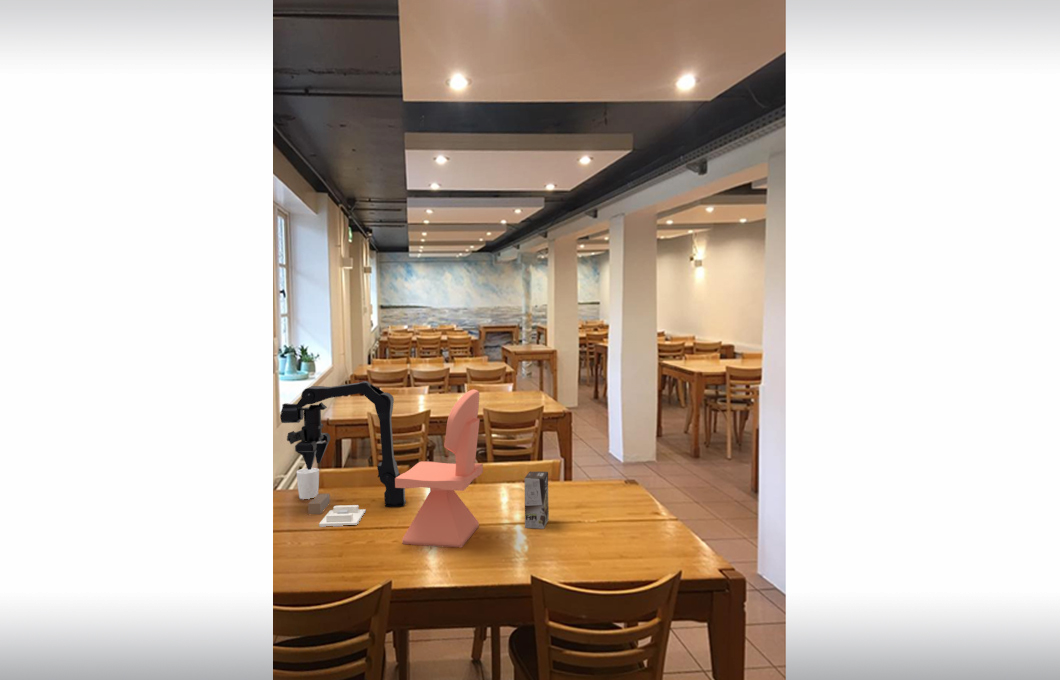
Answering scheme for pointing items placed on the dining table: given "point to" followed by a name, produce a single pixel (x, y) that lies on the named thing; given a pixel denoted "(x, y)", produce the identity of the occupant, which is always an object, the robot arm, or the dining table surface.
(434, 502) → the chair
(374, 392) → the robot arm
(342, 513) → the display rest
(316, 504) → the gray cuboid brick
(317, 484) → the white cup
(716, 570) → the dining table surface
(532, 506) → the coffee box
